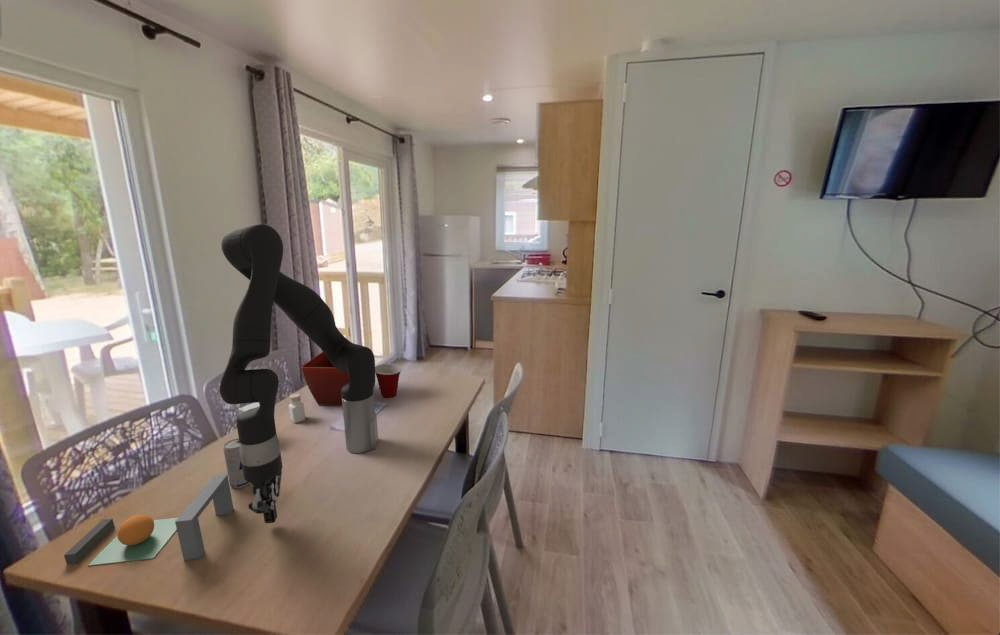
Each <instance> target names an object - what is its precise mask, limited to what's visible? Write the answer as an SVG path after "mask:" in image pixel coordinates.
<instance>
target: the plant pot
mask: <svg viewBox="0 0 1000 635" xmlns="http://www.w3.org/2000/svg"><path fill="white" fill-rule="evenodd" d="M300 367H301V368H300V369H301V372H302V375H303V378H304V380H305V383H306V386H307V387H308V390H309V392H310V393H311V395H312V397H313V398H314V399H313V400H315V402H316V403H317V405H318V406H342V396H341V389H342V387H343V386H345V385H346V384H348V383H349V374H345V373H342V372H340V371H339V370H337V369H336V368H335V367H334V366H333V364H332V363H331V362H330V360H329V359H328V358H327V356H326V355H325V354H324V352H323V351H322V352H320V353H319V354H317V355H315V357H313V358H311V359H310V360H309V361H307V362H306V363H304V364H302V365H301V366H300Z"/></svg>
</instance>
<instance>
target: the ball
mask: <svg viewBox="0 0 1000 635" xmlns="http://www.w3.org/2000/svg"><path fill="white" fill-rule="evenodd" d="M153 520H154V519H153V518H152V517H151V516H149V515H147V514H136V515H133V516H131V517H129V518H127V519H126V520H124V521H123V522H122V524H121V525H120V526H119V528H118V531H117V534H116V536H118V540H119V541H120V542H121V543H122V544H124V545H129V546H131V545H137V544H139V543H142V542H143V541H145V540H146V539H147V538H148V537H149V536H150V535H151V534H152V532H153V530H154V521H153Z"/></svg>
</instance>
